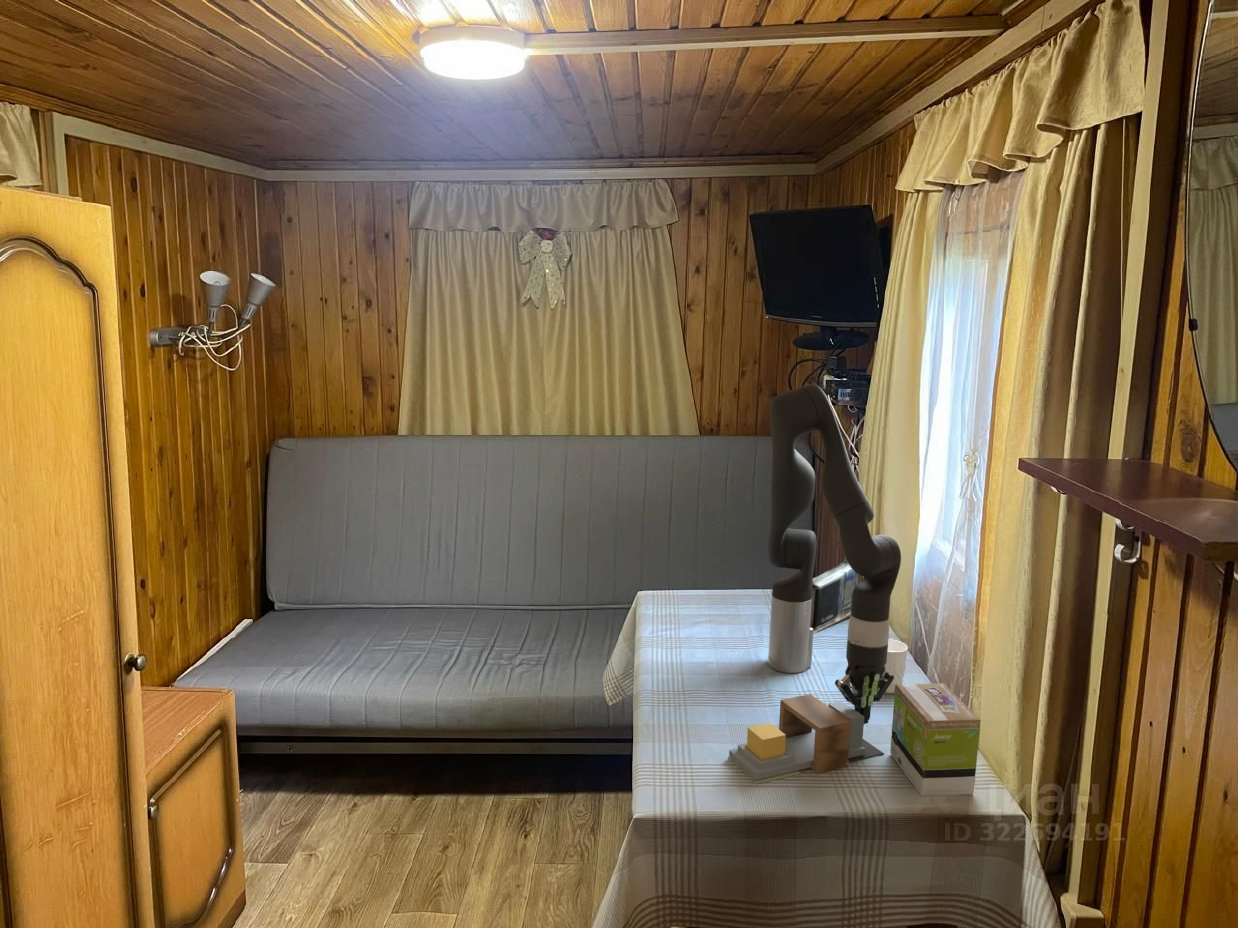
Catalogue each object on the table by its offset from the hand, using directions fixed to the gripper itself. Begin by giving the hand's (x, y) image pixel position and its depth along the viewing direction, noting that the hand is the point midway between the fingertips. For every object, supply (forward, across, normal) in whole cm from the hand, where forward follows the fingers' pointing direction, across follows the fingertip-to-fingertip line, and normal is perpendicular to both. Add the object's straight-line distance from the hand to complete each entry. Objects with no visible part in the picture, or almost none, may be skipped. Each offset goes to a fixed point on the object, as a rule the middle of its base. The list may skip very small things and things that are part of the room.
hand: (861, 722), depth 172 cm
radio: (+5, -38, -58) cm, 69 cm away
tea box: (+5, -5, +14) cm, 15 cm away
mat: (+4, +22, 0) cm, 23 cm away
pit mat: (+4, +2, 0) cm, 5 cm away
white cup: (+5, -23, -19) cm, 30 cm away
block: (+3, +22, 0) cm, 22 cm away
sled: (+4, +15, 0) cm, 15 cm away
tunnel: (+4, +11, 0) cm, 12 cm away
